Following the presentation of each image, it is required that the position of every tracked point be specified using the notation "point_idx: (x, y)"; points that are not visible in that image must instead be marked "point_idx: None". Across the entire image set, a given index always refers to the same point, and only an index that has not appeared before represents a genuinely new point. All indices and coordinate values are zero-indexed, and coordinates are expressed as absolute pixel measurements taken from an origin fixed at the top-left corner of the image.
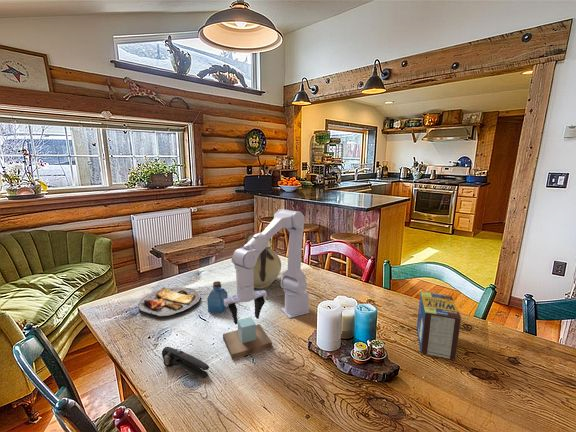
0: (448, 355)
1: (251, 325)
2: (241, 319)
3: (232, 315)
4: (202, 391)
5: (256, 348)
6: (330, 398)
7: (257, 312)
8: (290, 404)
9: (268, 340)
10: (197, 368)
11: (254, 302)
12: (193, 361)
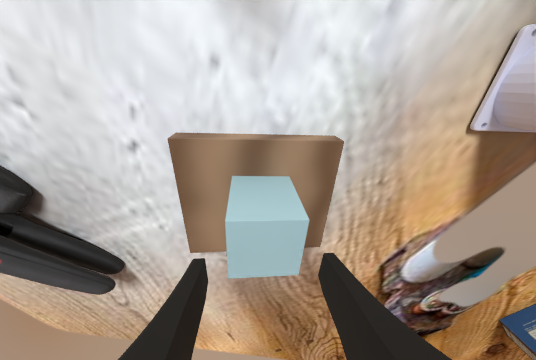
0: (513, 340)
1: (277, 273)
2: (248, 225)
3: (171, 299)
4: (115, 293)
5: None
6: (322, 340)
7: (335, 322)
8: (267, 337)
9: (315, 237)
10: (81, 263)
11: (380, 342)
12: (46, 284)
